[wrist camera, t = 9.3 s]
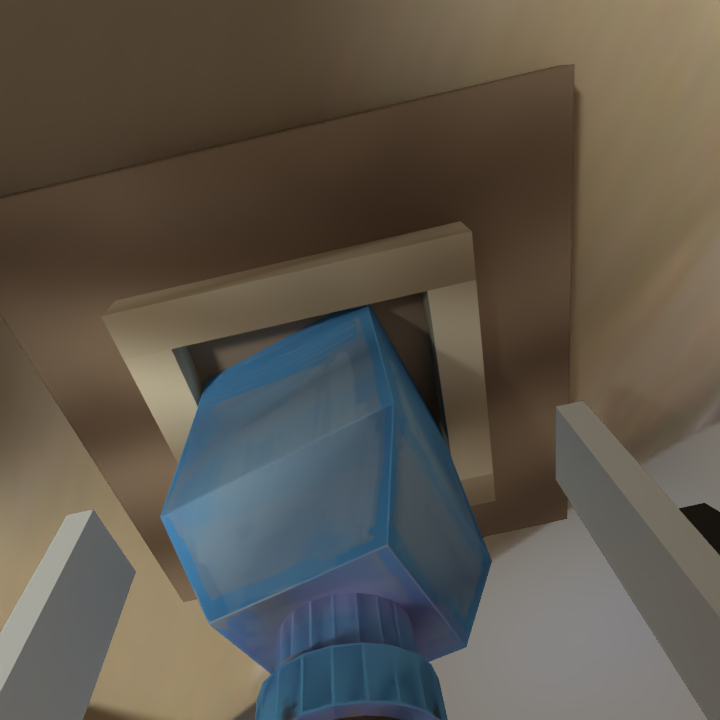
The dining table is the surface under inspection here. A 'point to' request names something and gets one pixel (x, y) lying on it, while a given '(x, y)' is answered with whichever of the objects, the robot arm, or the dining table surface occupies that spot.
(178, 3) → the dining table surface
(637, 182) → the dining table surface
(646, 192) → the dining table surface
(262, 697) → the perfume bottle
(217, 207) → the socket board
